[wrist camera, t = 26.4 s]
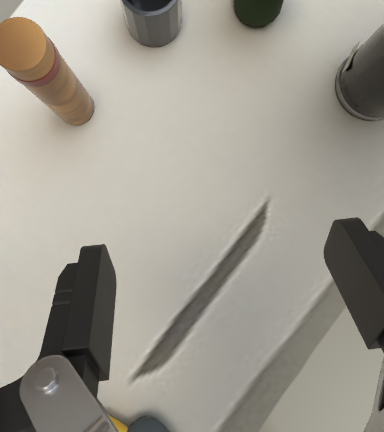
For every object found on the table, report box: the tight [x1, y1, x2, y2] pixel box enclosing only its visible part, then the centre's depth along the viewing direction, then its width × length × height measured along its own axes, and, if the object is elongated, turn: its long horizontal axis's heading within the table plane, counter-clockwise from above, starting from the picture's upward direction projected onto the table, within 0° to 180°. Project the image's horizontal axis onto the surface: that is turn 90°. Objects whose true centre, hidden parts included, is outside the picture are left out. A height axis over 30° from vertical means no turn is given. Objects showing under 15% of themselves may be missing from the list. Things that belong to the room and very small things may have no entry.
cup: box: [120, 0, 182, 47], centre depth 40 cm, size 7×7×6 cm
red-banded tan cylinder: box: [0, 17, 94, 125], centre depth 35 cm, size 5×5×15 cm
